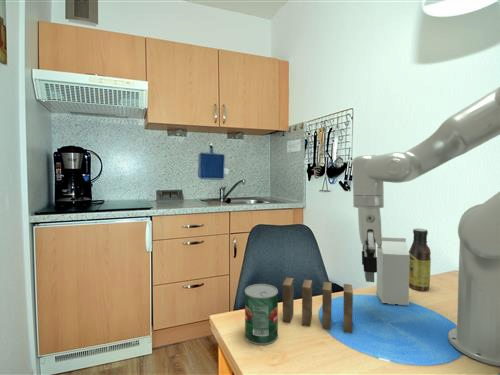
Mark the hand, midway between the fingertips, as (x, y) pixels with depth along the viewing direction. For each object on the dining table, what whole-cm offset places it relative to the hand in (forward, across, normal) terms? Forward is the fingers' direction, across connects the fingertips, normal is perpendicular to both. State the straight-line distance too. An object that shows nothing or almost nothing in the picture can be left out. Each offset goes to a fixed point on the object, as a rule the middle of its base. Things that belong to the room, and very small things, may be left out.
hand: (369, 267), depth 75 cm
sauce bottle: (+13, +23, -17) cm, 32 cm away
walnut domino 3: (+13, -9, +11) cm, 19 cm away
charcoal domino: (+3, 0, 0) cm, 3 cm away
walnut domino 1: (+12, -9, +21) cm, 26 cm away
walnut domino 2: (+13, -9, +16) cm, 22 cm away
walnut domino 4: (+13, -9, +6) cm, 17 cm away
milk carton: (+13, +11, -7) cm, 19 cm away
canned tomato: (+13, -18, +26) cm, 34 cm away
